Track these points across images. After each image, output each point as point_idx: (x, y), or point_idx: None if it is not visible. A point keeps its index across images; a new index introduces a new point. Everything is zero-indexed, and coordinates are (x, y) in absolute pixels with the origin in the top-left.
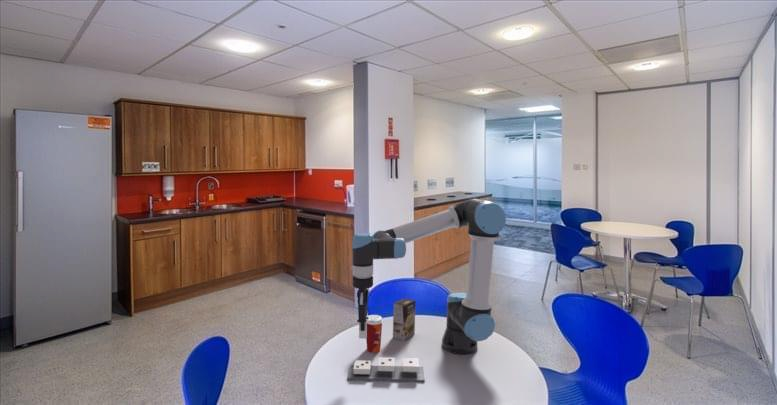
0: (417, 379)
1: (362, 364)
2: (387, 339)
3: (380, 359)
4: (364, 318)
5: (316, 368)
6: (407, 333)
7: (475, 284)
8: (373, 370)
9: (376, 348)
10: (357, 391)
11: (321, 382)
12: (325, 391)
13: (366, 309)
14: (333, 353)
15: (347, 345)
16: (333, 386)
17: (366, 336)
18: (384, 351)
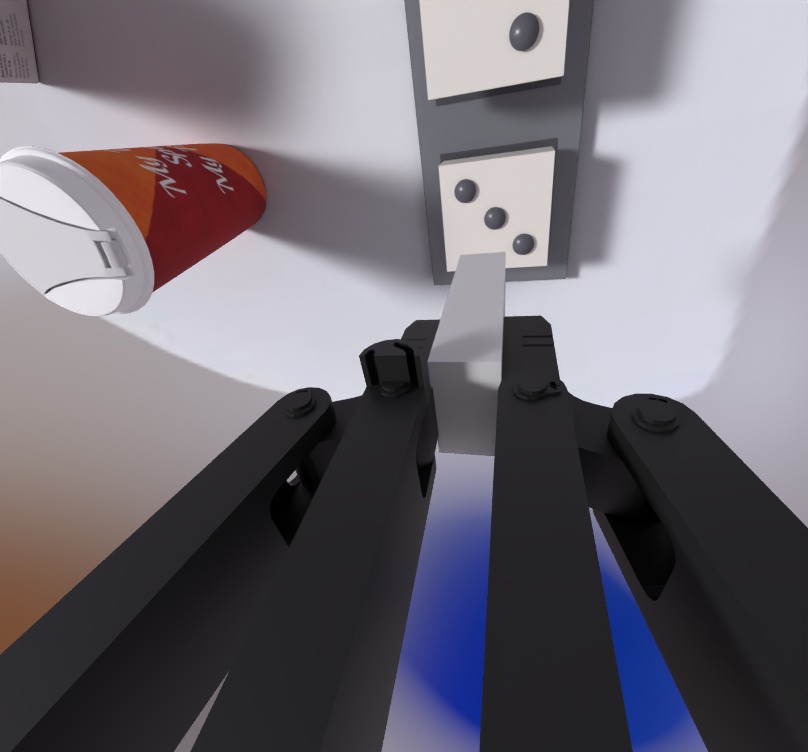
0: None
1: (498, 217)
2: (86, 118)
3: (460, 75)
4: (758, 500)
5: None
6: None
7: None
8: (477, 132)
9: (240, 166)
10: (696, 194)
11: (577, 380)
12: (660, 355)
13: (329, 522)
14: (336, 370)
15: (252, 327)
16: (619, 329)
17: (492, 259)
18: (220, 107)
